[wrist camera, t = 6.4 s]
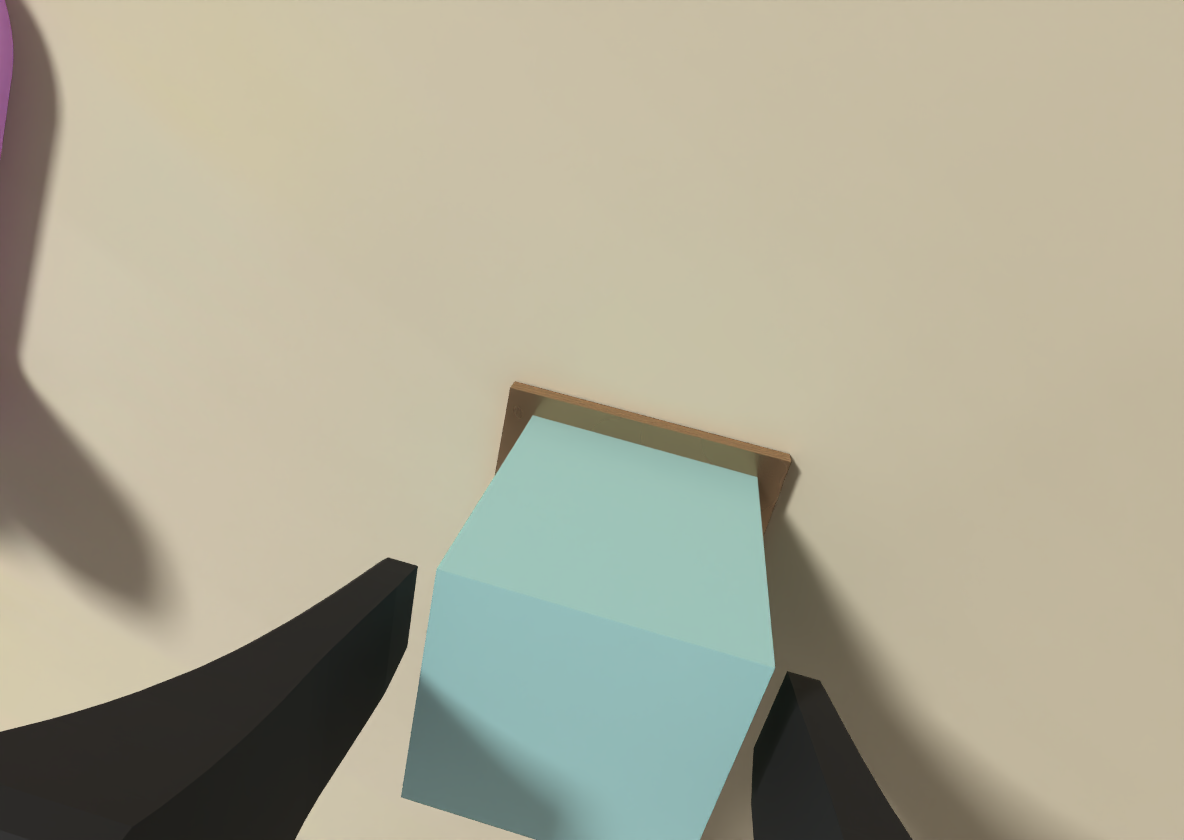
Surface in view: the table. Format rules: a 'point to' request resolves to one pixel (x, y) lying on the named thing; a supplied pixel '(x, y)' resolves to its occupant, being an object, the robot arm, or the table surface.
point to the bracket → (5, 65)
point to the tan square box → (646, 437)
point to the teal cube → (593, 643)
